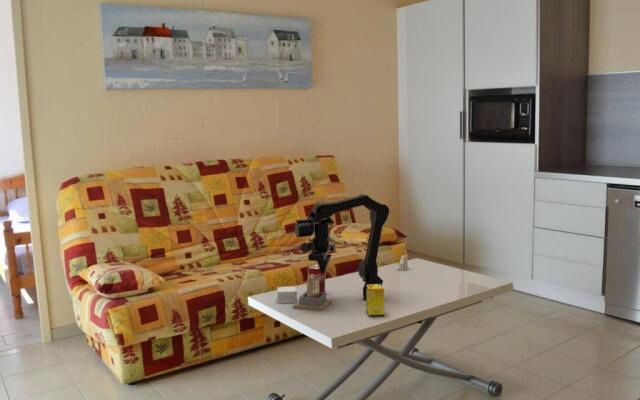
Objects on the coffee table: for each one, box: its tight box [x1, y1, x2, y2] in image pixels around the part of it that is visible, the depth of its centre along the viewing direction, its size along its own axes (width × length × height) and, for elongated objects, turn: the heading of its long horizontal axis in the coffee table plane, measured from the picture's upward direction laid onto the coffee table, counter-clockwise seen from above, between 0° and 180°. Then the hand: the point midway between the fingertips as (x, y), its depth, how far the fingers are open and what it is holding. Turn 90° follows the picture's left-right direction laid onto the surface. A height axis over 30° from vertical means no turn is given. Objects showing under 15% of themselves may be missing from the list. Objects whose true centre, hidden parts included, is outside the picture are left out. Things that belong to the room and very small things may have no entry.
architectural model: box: [396, 254, 409, 272], centre depth 293 cm, size 3×7×7 cm, turn 150°
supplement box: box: [365, 284, 385, 318], centre depth 224 cm, size 6×6×11 cm
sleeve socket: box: [293, 290, 333, 312], centre depth 237 cm, size 12×12×4 cm
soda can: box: [307, 264, 326, 293], centre depth 251 cm, size 7×7×12 cm
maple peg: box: [306, 278, 319, 298], centre depth 236 cm, size 5×5×9 cm
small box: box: [276, 286, 298, 305], centre depth 243 cm, size 8×8×5 cm
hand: (322, 273), depth 237 cm, fingers closed
